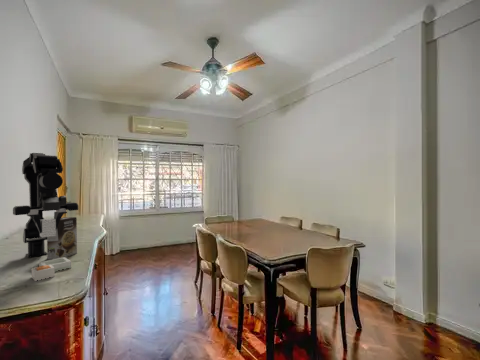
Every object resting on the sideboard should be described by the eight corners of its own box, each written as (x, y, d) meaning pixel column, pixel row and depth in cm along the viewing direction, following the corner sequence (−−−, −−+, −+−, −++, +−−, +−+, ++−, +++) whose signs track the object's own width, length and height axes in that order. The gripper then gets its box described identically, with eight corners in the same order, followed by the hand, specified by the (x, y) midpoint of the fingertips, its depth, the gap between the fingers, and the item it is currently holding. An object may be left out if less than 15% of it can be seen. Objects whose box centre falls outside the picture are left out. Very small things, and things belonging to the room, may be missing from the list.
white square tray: (39, 268, 95) (39, 262, 95) (64, 263, 101) (64, 256, 101) (44, 273, 90) (44, 266, 90) (71, 267, 96) (71, 261, 96)
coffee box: (59, 259, 106) (59, 220, 106) (46, 258, 108) (45, 219, 107) (77, 253, 115) (77, 216, 115) (65, 252, 116) (64, 216, 116)
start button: (36, 273, 87) (35, 267, 87) (47, 270, 89) (47, 264, 89) (38, 275, 85) (38, 269, 85) (50, 272, 87) (50, 266, 87)
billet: (39, 236, 96) (39, 219, 96) (53, 234, 99) (52, 218, 99) (42, 237, 93) (42, 220, 93) (55, 235, 96) (55, 219, 96)
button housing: (31, 277, 87) (31, 268, 87) (50, 272, 91) (50, 264, 91) (35, 281, 83) (35, 271, 83) (54, 276, 87) (54, 267, 87)
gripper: (17, 190, 83) (18, 239, 83) (82, 188, 97) (83, 230, 97) (12, 190, 91) (13, 235, 91) (73, 188, 105) (74, 227, 105)
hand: (47, 231), depth 96 cm, fingers closed on billet, 4 cm apart
